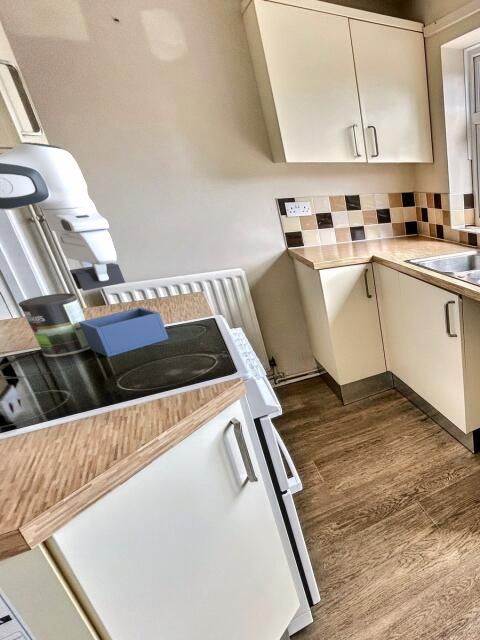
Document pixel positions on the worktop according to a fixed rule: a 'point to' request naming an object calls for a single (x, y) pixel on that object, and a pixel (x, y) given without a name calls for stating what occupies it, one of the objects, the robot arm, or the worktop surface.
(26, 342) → the worktop surface
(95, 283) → the dark gray block
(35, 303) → the coffee can
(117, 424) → the worktop surface
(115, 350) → the blue box
